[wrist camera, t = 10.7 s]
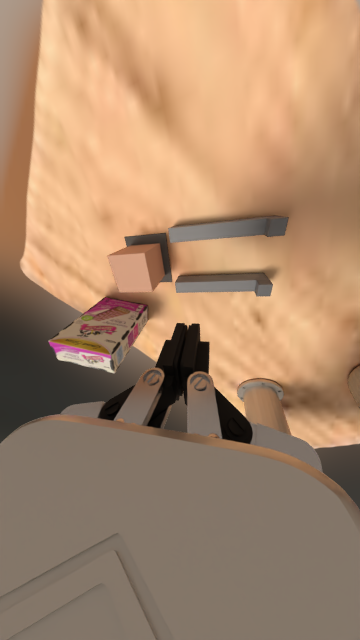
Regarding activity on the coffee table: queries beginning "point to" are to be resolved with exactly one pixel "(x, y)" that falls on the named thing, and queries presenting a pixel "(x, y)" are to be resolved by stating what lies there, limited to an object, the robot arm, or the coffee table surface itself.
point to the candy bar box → (101, 334)
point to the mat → (153, 240)
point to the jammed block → (137, 267)
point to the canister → (355, 384)
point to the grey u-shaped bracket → (228, 230)
